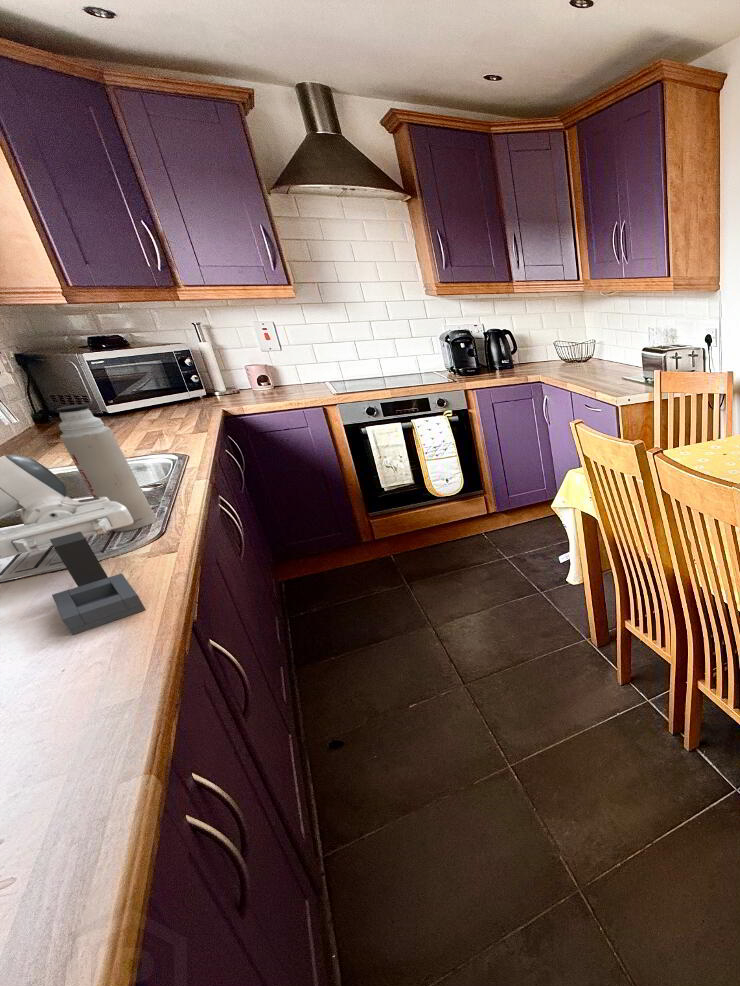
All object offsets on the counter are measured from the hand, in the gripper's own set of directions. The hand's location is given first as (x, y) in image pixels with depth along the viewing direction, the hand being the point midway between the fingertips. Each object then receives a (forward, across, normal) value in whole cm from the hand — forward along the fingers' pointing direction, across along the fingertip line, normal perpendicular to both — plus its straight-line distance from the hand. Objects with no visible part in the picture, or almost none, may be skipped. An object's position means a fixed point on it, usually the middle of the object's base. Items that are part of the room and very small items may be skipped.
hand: (67, 538), depth 111 cm
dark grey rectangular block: (+11, 0, +7) cm, 13 cm away
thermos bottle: (-25, +11, +8) cm, 29 cm away
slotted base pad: (+24, -1, +7) cm, 25 cm away
